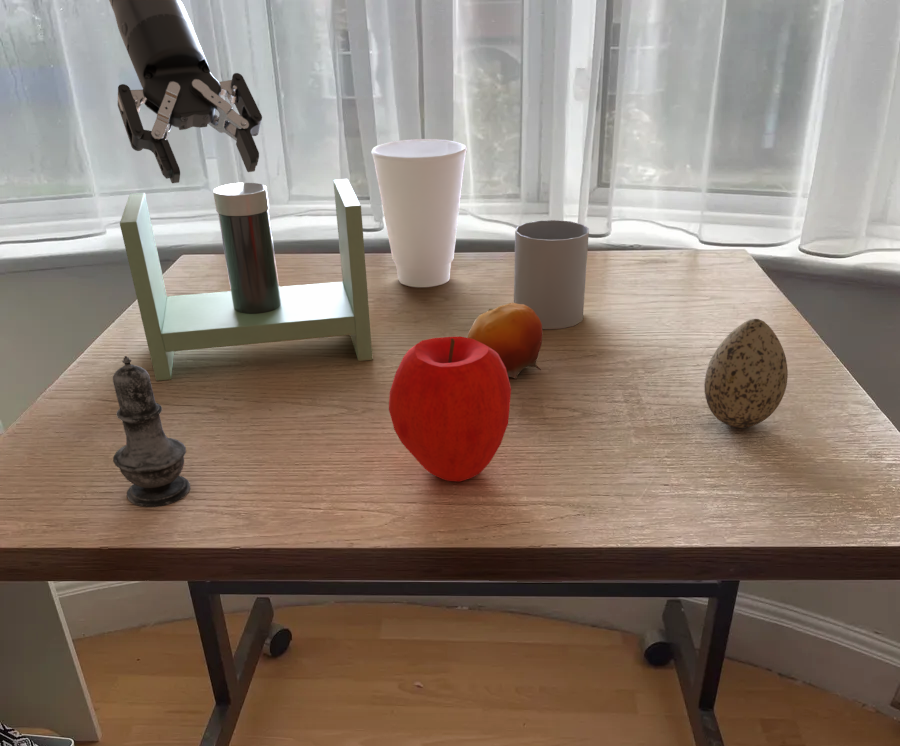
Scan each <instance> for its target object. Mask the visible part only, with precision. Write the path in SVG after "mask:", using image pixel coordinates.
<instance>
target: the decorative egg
mask: <svg viewBox="0 0 900 746" xmlns="http://www.w3.org/2000/svg"><path fill="white" fill-rule="evenodd" d="M788 373H789V372H788V362H787V357H786V354H785V350H784V348H783V346H782V344H781V341H780V339H779V338H778V336H777V335H776V333H775V332H774V330H773V329H772V328H771V327H770V325H769V324H767V322H765V321H764V320H763V319H760V318H751V319H748V320H746V321H744V322H743V323H741V324H740V325H739V326H737V327H736V328H734V329H733V330H732V331H731V332H730V333H729V334H728V335H727V336H726V337H725V338H723V340H722V342H721V343H720V344H719V346H718V347H717V348H716V350H715V351H714V353H713V354H712V357H711V359H710V361H709V363H708V365H707V369H706V372H705V377H704V384H703V385H704V386H703V388H704V389H703V390H704V396H705V401H706V404H707V406H708V409H709V411H710V412H711V414H712V415H713V416H714V417H715V418H716V419H717V420H719V422H721V423H722V424H724V425H726V426H729V427H731V428H739V429H743V428H751V427H754V426H756V425H759V424H760V423H762V422H764V421H765V420H767V419H768V418H769V417H770V416H772V415H773V414H774V413H775V411H776V410H777V409H778V407H779V405H780V404H781V402H782V400H783V398H784V396H785V393H786V390H787V387H788V386H787V385H788V378H789V377H788V376H789V374H788Z"/></svg>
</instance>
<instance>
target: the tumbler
mask: <svg viewBox="0 0 900 746" xmlns="http://www.w3.org/2000/svg"><path fill="white" fill-rule="evenodd" d="M212 193H213V199H214V206H215V211H216V213H217V217H218V223H219V229H220V230H219V231H220V235H221V241H222V247H223V253H224V259H225V264H226V270H227V276H228V283H229V289H230V291H231V295H232V301H233V307H234V309H235V310H236V311H237V312H240V313H246V314H259V313H266V312H270V311H273V310H275V309H277V308H279V307H280V306H281V297H280V290H279V287H280V283H279V275H278V269H277V261H276V254H275V247H274V239H273V231H272V223H271V217H270V201H269V194H268V187H267V186H266V185H264V184H262V183H257V182H236V183H235V182H234V183H228V184H224V185H220V186H218V187H215V188H214V189H213V190H212Z"/></svg>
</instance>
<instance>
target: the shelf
mask: <svg viewBox="0 0 900 746" xmlns="http://www.w3.org/2000/svg"><path fill="white" fill-rule="evenodd" d="M332 182H333V191H334V192H333V193H334V202H335V203H334V204H335V213H336V214H335V215H336V224H337V225H336V226H337V236H338V246H339V247H338V248H339V259H340V267H341V268H340V269H341V279H342V280H341V281H333V282H320V283H319V282H318V283H310V284H296V285H284V286H279V290H280V297H281V306H280V307H279V308H277V309H275V310H273V311H270V312H266V313H259V314H246V313H240V312H237V311H236V310H235V309H234V307H233V301H232V295H231V290H226V291H216V292H215V291H214V292H201V293H191V294H190V293H189V294H178V295H167V291H166V286H165V285H166V284H165V281H164V276H163V271H162V266H161V262H160V257H159V253H158V248H157V243H156V238H155V233H154V229H153V225H152V219H151V214H150V209H149V204H148V200H147V196H146V192H135V193H134V192H132V193H129V195H128V198H127V200H126V204H125V206H124V209H123V212H122V215H121V218H120V222H119V227H120V232H121V235H122V240H123V244H124V248H125V253H126V257H127V262H128V266H129V270H130V274H131V278H132V283H133V288H134V291H135V296H136V300H137V304H138V309H139V313H140V317H141V322H142V326H143V327H142V328H143V331H144V334H145V339H146V344H147V347H148V353H149V357H150V360H151V365H152V370H153V374H154V378H155V381H156V382H158V381H167V380H168V381H169V380H172V377H173V376H172V375H173V366H174V358H175V352H182V351H191V350H203V349H214V348H225V347H235V346H247V345H256V344H267V343H278V342H288V341H300V340H311V339H320V338H333V337H342V336H343V337H344V336H350V339H351V342H352V345H353V348H354V349H353V350H354V352H355V354H356V359H357V361H358V362H363V361H365V362H366V361H373V360H374V358H373V346H372V332H371V317H370V305H369V294H368V291H369V290H368V279H367V278H368V277H367V267H366V254H365V253H366V252H365V240H364V239H365V238H364V227H363V214H362V213H363V212H362V205H361V203H360V201H359V199H358V197H357V195H356V192H355V191H354V189H353V186H352V185H351V183H350V181H349V179H348V178H340V179H333V181H332Z"/></svg>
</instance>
